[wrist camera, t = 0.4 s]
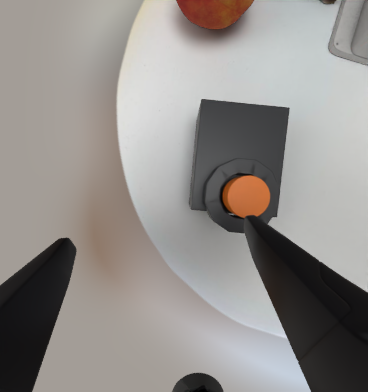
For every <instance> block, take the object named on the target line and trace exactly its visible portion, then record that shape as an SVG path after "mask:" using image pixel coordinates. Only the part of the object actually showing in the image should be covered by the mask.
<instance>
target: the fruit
mask: <svg viewBox="0 0 368 392" xmlns="http://www.w3.org/2000/svg"><path fill="white" fill-rule="evenodd" d="M176 1H177V3H178V5H179V7H180V9H181V11H182V12H183V14H184V15H185V16H186V17H187V18H188V20H190V21H191V22H192V23H194V24H196V25H198V26H201V27H204V28H208V29H222V28H226V27H228V26H230V25H232V24H233V23H234V22H236V21H237V20H238V19H239V18H240V17H241V15H242V14H243V13H244V12H245V11H246V10H247V9H248V8H249V7H250V6H251V4H252V3H253V1H254V0H176Z"/></svg>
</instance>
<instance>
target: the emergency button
mask: <svg viewBox="0 0 368 392" xmlns="http://www.w3.org/2000/svg"><path fill="white" fill-rule="evenodd" d="M329 50H330V52H331V53H332V54H334V55H336V56H339V57H343V58H346V59H349V60H352V61H356V62H359V63H362V64H365V65H368V0H342V4H341V7H340V10H339V13H338V17H337V20H336V23H335V26H334V30H333V33H332V36H331V39H330V43H329Z"/></svg>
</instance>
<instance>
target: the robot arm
mask: <svg viewBox="0 0 368 392" xmlns="http://www.w3.org/2000/svg"><path fill="white" fill-rule="evenodd" d="M244 233H245V236H246V239H247V242H248V245H249V249H250V252H251V255H252V258H253V261H254V263H255V265H256V268H257V270H258V272H259V274H260V277H261V279H262V281H263V283H264V286H265V288H266V290H267V292H268V295H269V297H270V299H271V302H272V304H273V306H274V308H275V311H276V313H277V315H278V317H279V320H280V322H281V324H282V326H283V329H284V331H285V333H286V335H287V338H288V340H289V342H290V345H291V347H292V349H293V351H294V354H295V356H296V358H297V360H298V361H299V362H298V363H299V365H300V367H301V370H302V372H303V374H304V376H305V379H306V381H307V383H308V385H309V388H310V390H311V392H368V292H366V291H364V290H363V289H361V288H359V287H358V286H356V285H355V284H353V283H352V282H350V281H348V280H347V279H345V278H344V277H342V276H341V275H339V274H338V273H336V272H335V271H333V270H332V269H330V268H329V267H327V266H326V265H325V264H323V263H322V262H319V260H317V259H316V258H315V257H313V256H312V255H310V254H309V253H307V252H306V251H305V250H303V249H302V248H300V247H299V246H298V245H296V244H295V243H293V242H292V241H290V240H289V239H288V238H286V237H285V236H283V235H282V234H280V233H279V232H278V231H276V230H275V229H273V228H272V227H271V226H269V225H268V224H266V223H265V222H263V221H262V220H261V219H259V218H258V217H256V216H255V215H247V216H245V221H244ZM75 256H76V247H75V246H74V244H73V243H72V241H71V240H70V239H69V238H61V239H58V240H57V241H55V242H54V243H53V244H52V245H50V246H49V247H48V248H47V249H46V250H44V251H43V252H42V253H40V254H39V255H38V256H37V257H35V258H34V259H33V260H32V261H30V262H29V263H28V264H27V265H25V266H24V267H23V268H22V269H20V270H19V271H18V272H16V273H15V274H14V275H13V276H11V277H10V278H9V279H8V280H6V281H5V282H4V283H3V284H1V285H0V392H32V390H33V388H34V385H35V382H36V379H37V376H38V373H39V370H40V367H41V364H42V361H43V358H44V355H45V352H46V349H47V346H48V344H49V340H50V338H51V335H52V332H53V328H54V326H55V323H56V320H57V317H58V314H59V311H60V308H61V305H62V302H63V299H64V297H65V294H66V291H67V288H68V285H69V281H70V277H71V273H72V269H73V265H74V260H75ZM193 392H210V391H209V389H208V388H207V387H206V386H205V385H201V386H200V387H199V388H197V389H196V390H194V391H193Z"/></svg>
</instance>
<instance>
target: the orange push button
mask: <svg viewBox="0 0 368 392" xmlns="http://www.w3.org/2000/svg"><path fill="white" fill-rule="evenodd" d="M222 197H223V202H224V205H225V207H226V208H227V209H228V210H229V211H230V212H232V213H234V214H236V215H238V216H240V217H242V218H245V216H247V215H255V216H256V217H257V216H259V215H261V214H262V213H263V212H264V211H265V210H266V208H267V207H268V205H269V202H270V192H269V188H268V186H267V185H266V183H265V182H264V181H263V180H262V179H260V178H258V177H256V176H250V175H248V176H241V177H237V178H234V179H232V180H230V181H229V182H228V183H227V184H226V186H225V188H224V190H223V195H222Z"/></svg>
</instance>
